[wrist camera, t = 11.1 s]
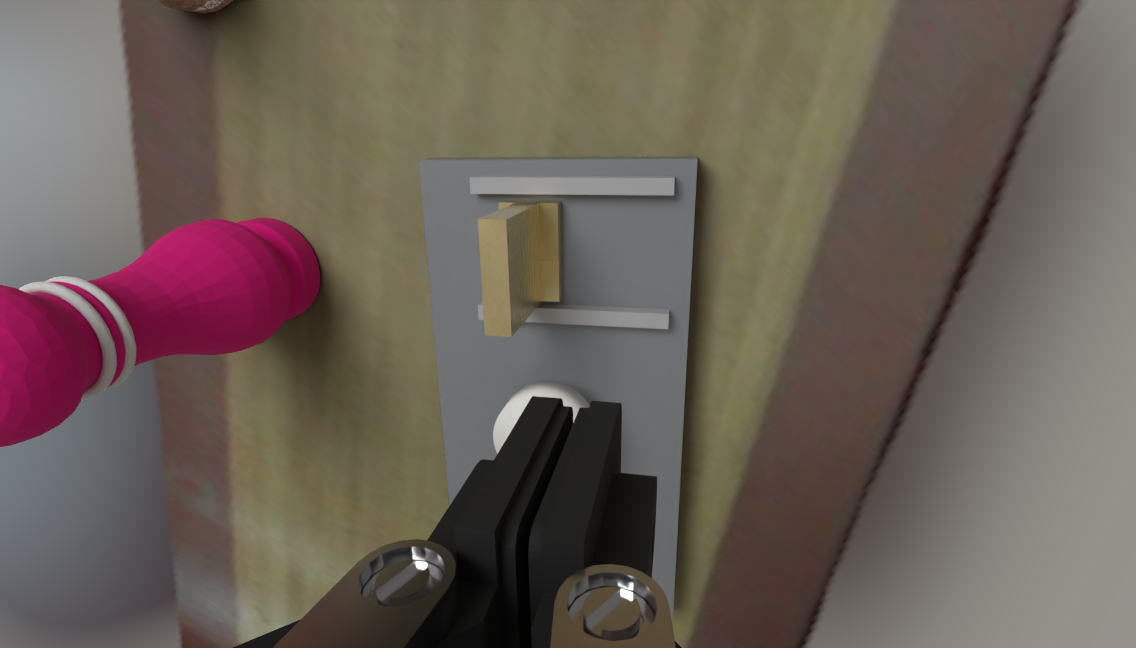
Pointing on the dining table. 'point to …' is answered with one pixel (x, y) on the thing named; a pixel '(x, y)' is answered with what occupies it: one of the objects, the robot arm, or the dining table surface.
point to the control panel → (571, 308)
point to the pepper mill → (147, 315)
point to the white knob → (521, 400)
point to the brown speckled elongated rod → (196, 5)
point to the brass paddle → (519, 262)
